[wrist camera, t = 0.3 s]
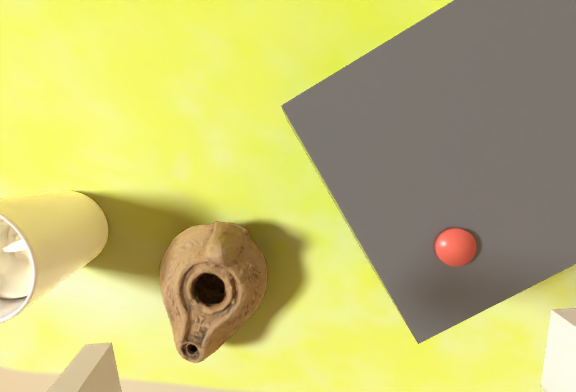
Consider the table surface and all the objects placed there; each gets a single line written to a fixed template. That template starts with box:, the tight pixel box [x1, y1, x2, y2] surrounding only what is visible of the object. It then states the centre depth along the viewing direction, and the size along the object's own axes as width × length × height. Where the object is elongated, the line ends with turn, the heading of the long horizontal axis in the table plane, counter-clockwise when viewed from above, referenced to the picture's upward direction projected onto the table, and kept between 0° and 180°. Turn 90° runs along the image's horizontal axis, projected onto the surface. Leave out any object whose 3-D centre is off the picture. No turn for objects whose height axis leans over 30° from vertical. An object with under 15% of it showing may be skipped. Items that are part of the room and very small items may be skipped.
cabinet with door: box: [281, 0, 576, 344], centre depth 28 cm, size 20×18×16 cm
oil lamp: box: [159, 221, 267, 363], centre depth 35 cm, size 11×15×8 cm
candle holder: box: [0, 191, 108, 323], centre depth 32 cm, size 10×10×12 cm
